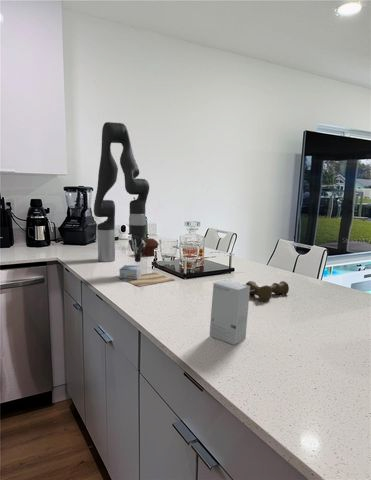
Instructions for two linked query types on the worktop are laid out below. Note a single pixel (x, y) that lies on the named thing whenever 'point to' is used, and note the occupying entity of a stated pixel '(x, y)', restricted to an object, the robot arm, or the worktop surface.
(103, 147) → the robot arm
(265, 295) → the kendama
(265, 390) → the worktop surface
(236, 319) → the skincare box
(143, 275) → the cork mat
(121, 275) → the medicine box
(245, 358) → the worktop surface
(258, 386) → the worktop surface
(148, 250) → the muffin
